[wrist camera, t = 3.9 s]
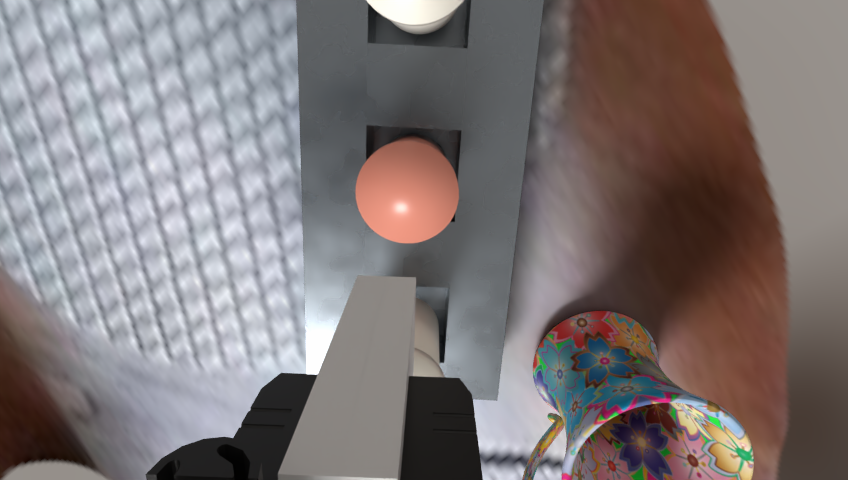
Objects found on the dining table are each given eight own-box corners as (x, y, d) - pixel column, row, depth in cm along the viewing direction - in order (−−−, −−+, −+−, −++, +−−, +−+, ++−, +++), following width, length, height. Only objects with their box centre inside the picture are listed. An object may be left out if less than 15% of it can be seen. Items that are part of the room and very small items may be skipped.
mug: (613, 273, 32) (698, 361, 21) (681, 370, 34) (788, 492, 24) (467, 368, 34) (481, 488, 24) (539, 453, 36) (581, 595, 26)
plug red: (373, 205, 28) (354, 240, 22) (374, 126, 27) (355, 138, 20) (450, 209, 28) (455, 246, 22) (455, 130, 27) (462, 144, 20)
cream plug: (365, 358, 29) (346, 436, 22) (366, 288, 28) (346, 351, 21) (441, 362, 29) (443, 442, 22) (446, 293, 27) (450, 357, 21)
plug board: (321, 355, 34) (307, 389, 30) (313, -107, 25) (292, -141, 21) (489, 365, 34) (497, 400, 30) (539, -95, 25) (558, -127, 21)
